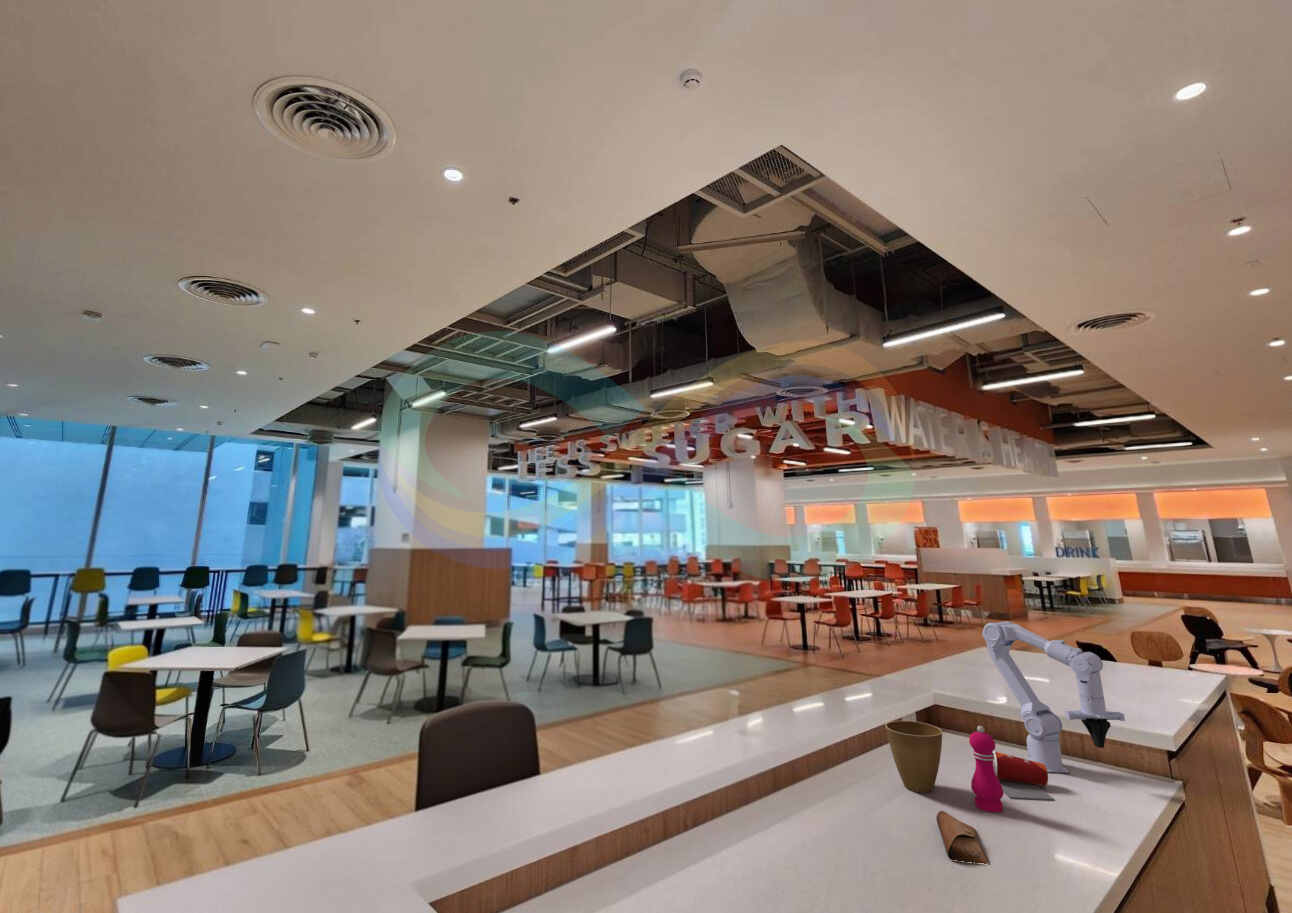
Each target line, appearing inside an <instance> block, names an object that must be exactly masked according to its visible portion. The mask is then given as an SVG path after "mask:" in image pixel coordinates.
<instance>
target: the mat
mask: <svg viewBox="0 0 1292 913" xmlns="http://www.w3.org/2000/svg"><path fill="white" fill-rule="evenodd" d="M998 780H999V782H1000V783H1001V786H1002V789H1003V794H1004V795H1006V796H1007V797H1008V799H1011V800H1013V799H1014V800H1028V801H1029V800H1030V801H1031V800H1035V801H1051V802H1052V801H1053V802H1054V801H1055V800H1056V799H1055V798H1054V797H1052V796H1051V795H1050V794H1049V793H1048V792H1046V791H1045V790H1044V789H1042V788H1041V787H1039V785H1036V784H1029V783H1023V782H1016V781H1010V780H1003V779H998Z"/></svg>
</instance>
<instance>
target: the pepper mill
mask: <svg viewBox="0 0 1292 913" xmlns="http://www.w3.org/2000/svg"><path fill="white" fill-rule="evenodd" d="M976 730H977V731H973V732H972V733H971V734H970V735H969V739H968V740H969V741H968V742H969V745H970V747H971V748H972V751H971V752H972V756H973V758H974V760H975V770H974V773H973V775H972V778H971V784H970V786H971V787H970V788H971V790H972V792H973V794H974V795H975V797H974V805H975V807H976V808H978V809H980V810H982V811H984V812H988V813H996V814H997V813H1001V812H1003V810H1004V807H1003V801H1002V800H1001V799H1002V798H1003V797H1004V793H1003V789H1002V786H1001V783H1000V782H999V780H998V778H997V776H996V774H995V771H994V767H993V760H994V759H995V758H994V753H993V751H995V750H996V741H995V739H994V738H993V737H992V735H990V734H989V733H988V732H985V728H984V726H981V725H978V726H977V727H976Z"/></svg>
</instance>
